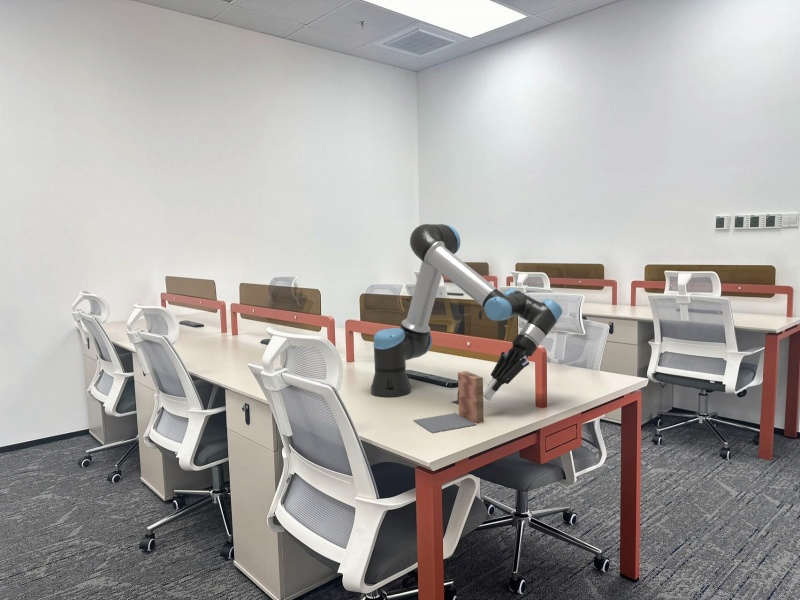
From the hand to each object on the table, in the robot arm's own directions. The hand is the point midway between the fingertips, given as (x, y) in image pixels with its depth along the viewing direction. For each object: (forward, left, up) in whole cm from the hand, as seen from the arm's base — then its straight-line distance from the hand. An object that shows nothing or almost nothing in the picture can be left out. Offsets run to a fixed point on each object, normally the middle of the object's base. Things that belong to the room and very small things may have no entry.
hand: (485, 397), depth 177 cm
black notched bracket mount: (-16, +9, -7) cm, 19 cm away
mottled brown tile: (-2, -5, -6) cm, 8 cm away
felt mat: (-5, -14, -6) cm, 16 cm away
